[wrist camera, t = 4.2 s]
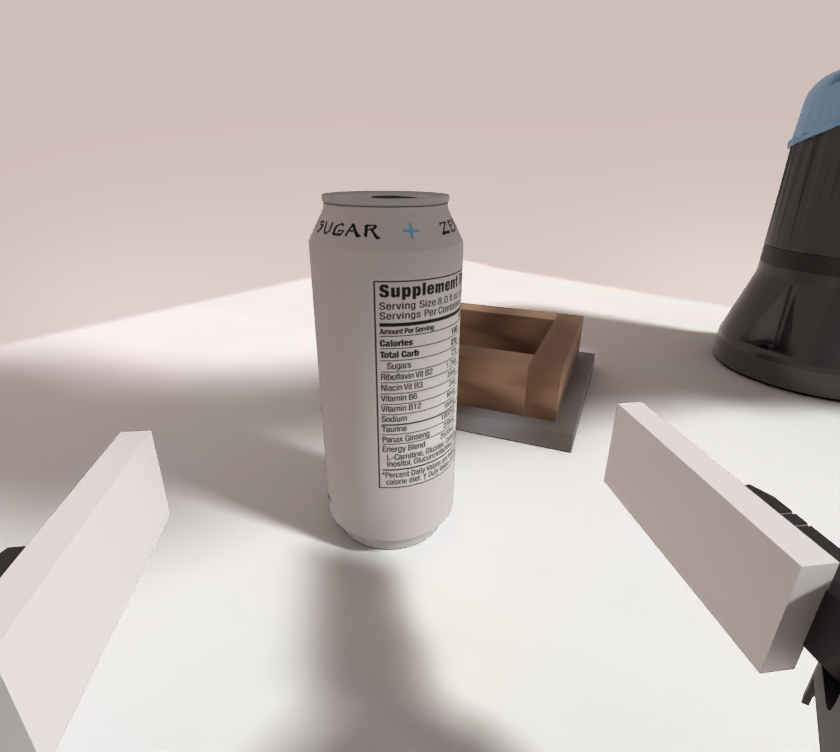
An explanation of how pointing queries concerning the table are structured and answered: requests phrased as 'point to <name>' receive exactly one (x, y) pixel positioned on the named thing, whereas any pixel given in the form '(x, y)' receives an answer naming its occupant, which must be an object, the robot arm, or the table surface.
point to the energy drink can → (388, 360)
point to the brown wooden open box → (521, 375)
